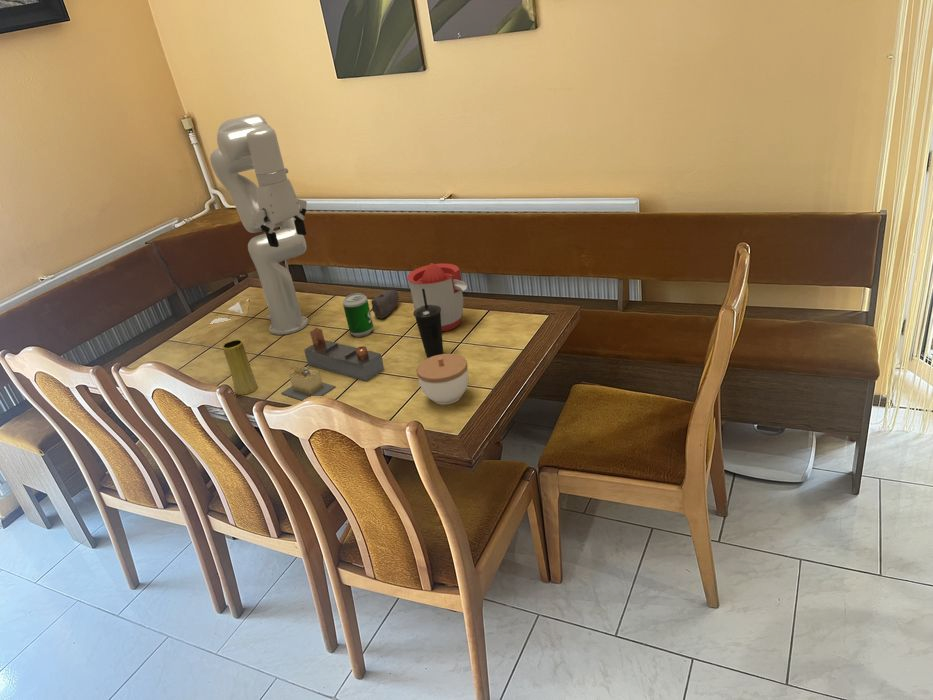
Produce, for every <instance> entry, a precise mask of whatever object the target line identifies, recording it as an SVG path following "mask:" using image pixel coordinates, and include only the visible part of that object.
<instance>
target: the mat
mask: <svg viewBox="0 0 933 700" xmlns="http://www.w3.org/2000/svg"><path fill="white" fill-rule="evenodd" d="M322 384H323V387H324V388H322V389H320V390H319V391H317V392H316V393H314V394H313V395H311V396H322V397H323V396H324V395H327V394H328V393H329V392H331V391H332V390H334V389H336V385H333V384H329V383H326V382H323V381H322ZM280 394H281V395H283V396H287V397H288V398H289V397H290V398H292V399H295V400H298V401H301V402H303V401H302V400H304V399H306V398H308V397H311V396H309V395H305V394H302V393H299V392H295V391H293V387H292V385H291V386H290V387H288V388H287V389H285V390H283V391H281V392H280Z"/></svg>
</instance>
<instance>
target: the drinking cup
mask: <svg viewBox="0 0 933 700" xmlns="http://www.w3.org/2000/svg"><path fill="white" fill-rule="evenodd" d="M422 292H423V298H424V303H425V305H424V306H421V307H419V308H417V309H416V310H415V309H414V310H413V313H412V315H413V316H414V318H415V321H416V324H417V328H418V333H419V336H420V339H421V341H422V344H423V345H422V346H423V348H424V352H425V353H424V354H425V356H426V359H427V358H430V357H432V356H436V355H441V354H444V346H443V343H444V342H443V331H442V328H441V314H440V312H441V308H440V307H439V306H437V305H427V300H426V295H425V289H422Z"/></svg>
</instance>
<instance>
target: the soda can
mask: <svg viewBox="0 0 933 700" xmlns="http://www.w3.org/2000/svg"><path fill="white" fill-rule="evenodd" d="M342 307H343V309H344V314H345V318H346V321H347V328H348V332H349V333H350V334H351V335H353V336H354V337H357V338H358V337H359V338H361V337H366V336H369V335H370V334H371V333H372V331H373V330H374V323H373V319H372V314H371V310H370V306H369V301H368V297H367V296H366V295H364V294H363V293H361V292H359V293H357V292H356V293H352V294H348V295H347V296H345V297H344V299H343V300H342Z"/></svg>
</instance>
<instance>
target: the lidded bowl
mask: <svg viewBox="0 0 933 700" xmlns="http://www.w3.org/2000/svg"><path fill="white" fill-rule="evenodd" d="M415 369H416V375H417V378H418V383H419V385H420V389H421V390H422V392H423V393H424V395H425V396H426V397H427V399H430V400H431V401H433V402H434V403H435V404H437V405H440V406H441V405H443V406H445V405H446V406H447V405H451V404H455V403H457V402H458V401H459V400H460V399H461V398H462V396H463V395H464V393H465V392H466V391H467V388H468V383H469V370H468V360H467V359H466V358H465V357H464V356H462V355H460V354H455V353H443V354H441V355H436V356H432V357H430V358H427V357H426V358H425V359H424V360H422V361H421V362H420V363H419V364H418V365H417V367H416V368H415Z"/></svg>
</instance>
